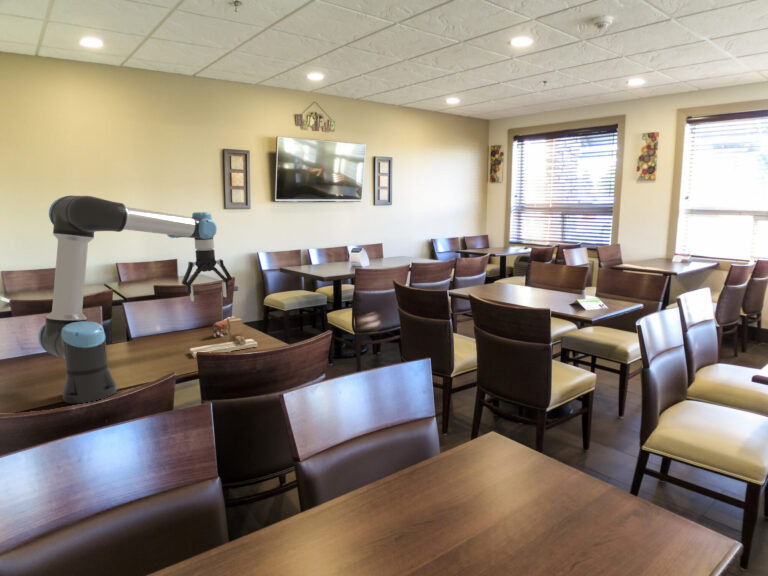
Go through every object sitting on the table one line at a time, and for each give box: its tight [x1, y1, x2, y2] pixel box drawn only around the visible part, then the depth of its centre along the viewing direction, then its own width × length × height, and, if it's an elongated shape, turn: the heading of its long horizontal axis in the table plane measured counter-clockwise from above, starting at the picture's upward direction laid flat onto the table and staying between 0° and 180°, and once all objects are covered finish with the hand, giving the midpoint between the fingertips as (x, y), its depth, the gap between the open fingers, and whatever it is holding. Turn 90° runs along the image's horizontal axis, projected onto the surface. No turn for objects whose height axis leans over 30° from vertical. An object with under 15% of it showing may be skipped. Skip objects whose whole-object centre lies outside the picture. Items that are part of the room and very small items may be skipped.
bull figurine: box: [212, 315, 235, 338], centre depth 231 cm, size 4×13×8 cm, turn 148°
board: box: [189, 338, 259, 359], centre depth 208 cm, size 8×26×2 cm, turn 123°
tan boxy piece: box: [226, 316, 246, 344], centre depth 214 cm, size 14×5×11 cm, turn 33°
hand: (208, 298), depth 212 cm, fingers open, 13 cm apart
